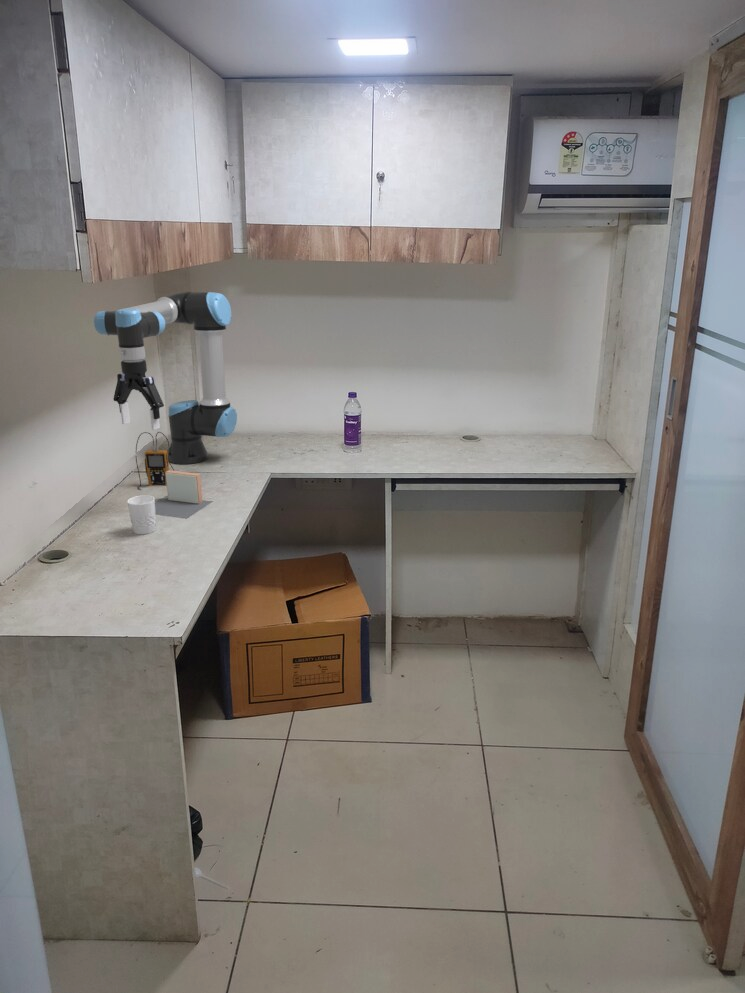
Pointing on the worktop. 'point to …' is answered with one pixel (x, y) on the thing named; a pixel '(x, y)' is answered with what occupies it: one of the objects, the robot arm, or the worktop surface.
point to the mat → (178, 508)
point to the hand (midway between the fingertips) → (141, 426)
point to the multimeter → (155, 465)
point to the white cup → (142, 514)
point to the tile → (184, 487)
